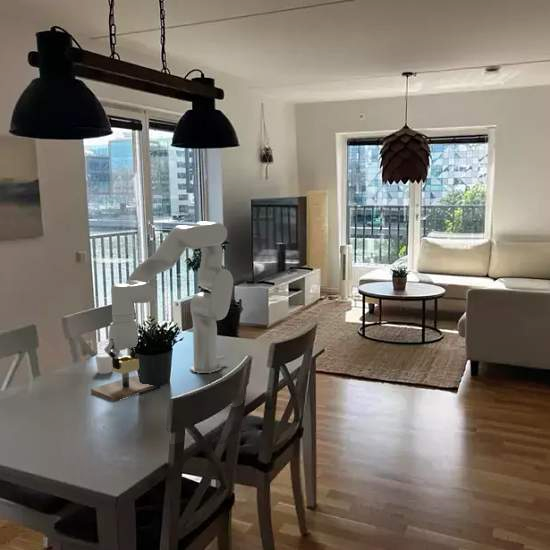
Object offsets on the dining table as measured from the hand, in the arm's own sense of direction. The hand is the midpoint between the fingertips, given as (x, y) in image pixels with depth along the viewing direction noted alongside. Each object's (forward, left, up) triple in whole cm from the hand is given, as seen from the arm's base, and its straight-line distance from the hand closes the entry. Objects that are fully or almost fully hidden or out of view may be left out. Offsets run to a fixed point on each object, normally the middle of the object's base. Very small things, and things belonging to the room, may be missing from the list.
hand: (125, 365), depth 206 cm
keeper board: (0, 0, -9) cm, 9 cm away
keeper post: (0, 0, -8) cm, 8 cm away
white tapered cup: (-7, -24, -9) cm, 27 cm away
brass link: (0, 0, -2) cm, 2 cm away
